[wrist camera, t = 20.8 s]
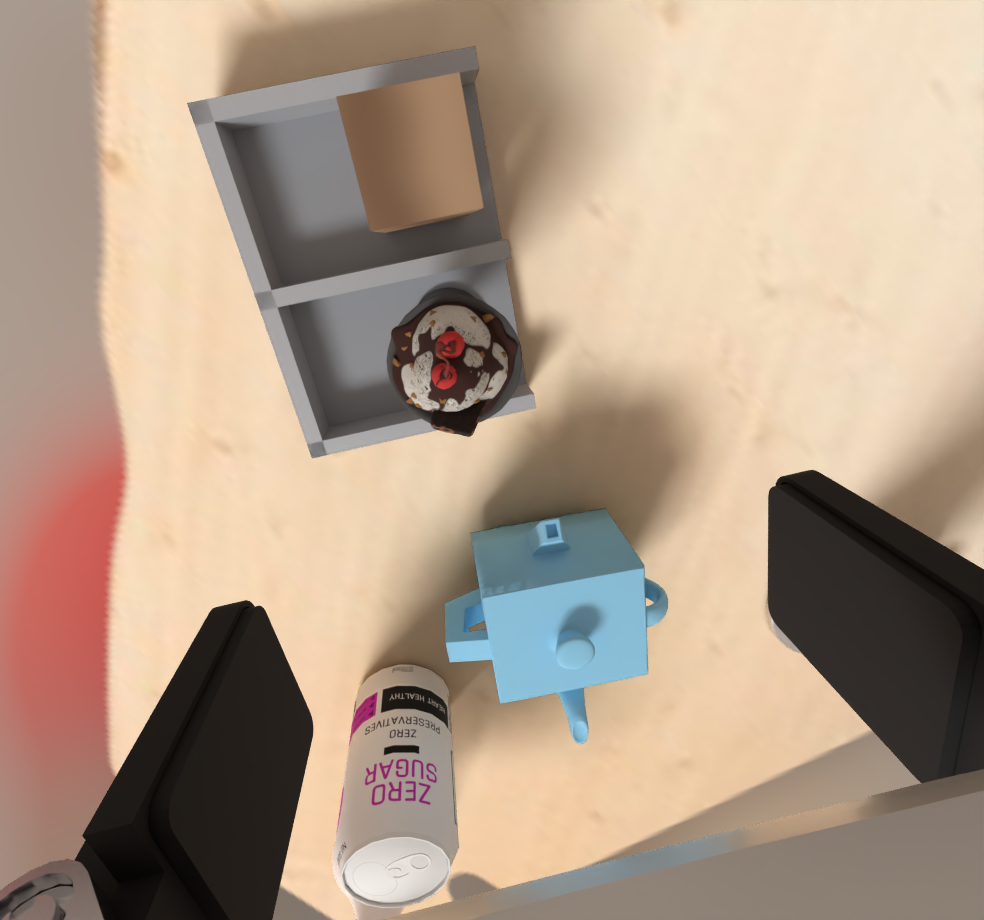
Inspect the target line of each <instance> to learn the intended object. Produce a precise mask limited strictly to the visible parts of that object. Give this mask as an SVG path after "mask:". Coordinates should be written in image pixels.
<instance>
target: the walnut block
mask: <svg viewBox="0 0 984 920" xmlns="http://www.w3.org/2000/svg"><path fill="white" fill-rule="evenodd" d="M336 99H337V103H338V107H339V111H340V114H341V118H342V122H343V126H344V130H345V134H346V138H347V142H348V146H349V149H350V153H351V157H352V161H353V165H354V169H355V173H356V177H357V181H358V184H359V188H360V192H361V196H362V200H363V204H364V208H365V212H366V215H367V219H368V223H369V227H370V231H374V232H382V233H388V232H393V231H398V230H403V229H408V228H412V227H417V226H422V225H427V224H432V223H436V222H441V221H446V220H451V219H456V218H461V217H465V216H467V215H469V214H472V213H474V212H476V211H478V210H480V209H482V208H484V207H483V201H482V195H481V190H480V184H479V179H478V173H477V167H476V162H475V156H474V151H473V145H472V140H471V134H470V128H469V123H468V117H467V112H466V106H465V100H464V95H463V89H462V84H461V78H460V73H459V72H458V73H453V74H448V75H443V76H438V77H433V78H428V79H422V80H417V81H412V82H407V83H402V84H397V85H392V86H387V87H382V88H377V89H372V90H367V91H362V92H357V93H352V94H346V95H341V96H336Z"/></svg>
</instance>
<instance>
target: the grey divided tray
mask: <svg viewBox="0 0 984 920" xmlns="http://www.w3.org/2000/svg"><path fill="white" fill-rule="evenodd" d="M478 70H479V66H478V60H477V54H476V48H475V46H473V47H468V48H463V49H458V50H452V51H447V52H442V53H437V54H432V55H427V56H422V57H417V58H412V59H407V60H402V61H397V62H392V63H387V64H382V65H377V66H372V67H367V68H362V69H357V70H352V71H347V72H342V73H337V74H332V75H327V76H322V77H316V78H311V79H306V80H301V81H296V82H291V83H286V84H281V85H276V86H271V87H266V88H261V89H256V90H251V91H246V92H241V93H236V94H231V95H226V96H221V97H216V98H211V99H206V100H201V101H196V102H191V103H187V104H188V107H189V110H190V113H191V115H192V118H193V121H194V124H195V127H196V130H197V132H198V135H199V138H200V141H201V144H202V147H203V150H204V152H205V155H206V158H207V161H208V164H209V167H210V169H211V172H212V175H213V178H214V181H215V184H216V186H217V189H218V192H219V195H220V198H221V201H222V204H223V206H224V209H225V212H226V215H227V218H228V221H229V223H230V226H231V229H232V232H233V235H234V238H235V241H236V243H237V246H238V249H239V252H240V255H241V258H242V260H243V263H244V266H245V269H246V272H247V275H248V277H249V280H250V283H251V286H252V289H253V292H254V295H255V297H256V300H257V303H258V306H259V309H260V312H261V314H262V317H263V320H264V323H265V326H266V329H267V331H268V334H269V337H270V340H271V343H272V346H273V349H274V351H275V354H276V357H277V360H278V363H279V366H280V368H281V371H282V374H283V377H284V380H285V383H286V385H287V388H288V391H289V394H290V397H291V400H292V403H293V405H294V408H295V411H296V414H297V417H298V420H299V422H300V425H301V428H302V431H303V434H304V437H305V439H306V442H307V445H308V448H309V451H310V454H311V457H312V458H316V457H320V456H325V455H329V454H334V453H338V452H342V451H347V450H351V449H356V448H360V447H365V446H369V445H374V444H378V443H383V442H387V441H392V440H396V439H401V438H405V437H410V436H414V435H418V434H423V433H427V432H432V431H436V429H433V428H432V427H431V424H430V423H428V422H426V421H424V420H423V419H421V418H419V417H417V416H416V415H415V414H413V413H412V412H410V411H409V410H408V409H407V408H406V406H405V405H404V404H403V403H402V402H401V401H400V399H399V398H398V396H397V395H396V393H395V392H394V389H393V387H392V385H391V382H390V379H389V375H388V371H387V361H386V360H387V352H388V348H389V344H390V340H391V332H392V329H393V328H395V327H396V326H398V325H399V323H400V322H401V321H402V319H403V318H404V317H405V315H406V314H408V313H409V312H410V311H411V310H412V309H413V308H414V307H416V306H417V305H418V304H419V303H420V302H421V300H422V299H423V298H424V297H425V296H427V295H428V294H429V293H431V292H433V291H435V290H438V289H442V288H449V287H451V288H457V289H461V290H464V291H466V292H468V293H469V294H471V295H472V296H473V297H475V298H476V299H479V300H481V301H483V302H485V303H487V304H488V305H490V306H491V307H493V308H494V309H496V310H497V311H498V312H499V313H501V314H502V315H503V316H504V317H505V318H506V319H507V321H508V322H509V323H510V325H511V326H512V327H513V329H514V331H515V333H516V334H517V336H518V332H517V326H516V321H515V315H514V309H513V303H512V298H511V292H510V286H509V280H508V274H507V269H506V263H505V259H507V258H511V255H510V249H509V243H508V240H501V234H500V228H499V222H498V217H497V211H496V205H495V199H494V194H493V188H492V182H491V176H490V171H489V165H488V159H487V153H486V147H485V142H484V136H483V130H482V124H481V119H480V113H479V107H478V101H477V95H476V90H475V84H474V82H475V79H476V76H477V73H478ZM458 72H459V73H460V78H461V84H462V89H463V95H464V100H465V106H466V112H467V117H468V123H469V128H470V134H471V140H472V145H473V151H474V156H475V162H476V167H477V173H478V179H479V184H480V190H481V195H482V201H483V207H484V208H482V209H480V210H478V211H476V212H474V213H472V214H469V215H467V216H465V217H461V218H456V219H451V220H446V221H441V222H436V223H432V224H427V225H422V226H417V227H412V228H408V229H403V230H398V231H393V232H388V233H382V232H374V231H370V227H369V223H368V219H367V215H366V212H365V208H364V204H363V200H362V196H361V192H360V188H359V184H358V181H357V177H356V173H355V169H354V165H353V161H352V157H351V153H350V149H349V146H348V142H347V138H346V134H345V130H344V126H343V122H342V118H341V114H340V111H339V107H338V103H337V99H336V96H341V95H346V94H352V93H357V92H362V91H367V90H372V89H377V88H382V87H387V86H392V85H397V84H402V83H407V82H412V81H417V80H422V79H428V78H433V77H438V76H443V75H448V74H453V73H458ZM518 339H519V338H518ZM535 408H536V403H535V397H534V393H533V392H532V390H531V389H530V388H529V386H528V385H527V384H526V378H525V373H524V367H523V361H522V369H521V374H520V378H519V382H518V385H517V388H516V390H515V392H514V394H513V395H512V397H511V398H510V400H509V401H508V402H507V404H506V405H505V406H504V407H503V408H502V409H501V410H500V411H499V412H497V413H496V414H494V415H493V416H491V417H490V418H494V417H499V416H503V415H508V414H512V413H517V412H521V411H526V410H530V409H535ZM490 418H488V419H490Z"/></svg>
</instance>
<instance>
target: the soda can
mask: <svg viewBox="0 0 984 920" xmlns="http://www.w3.org/2000/svg"><path fill="white" fill-rule="evenodd" d="M458 848H459V842H458V826H457V809H456V793H455V777H454V761H453V744H452V728H451V712H450V698H449V689H448V688H447V686H446V684H445V683H444V681H443V679H442V678H441V677H439V676H438V675H437V674H435V673H434V672H433V671H431V670H429V669H426V668H423V667H419V666H416V665H404V664H399V665H395V666H391V667H387V668H384V669H381V670H380V671H378V672H376V673H375V674H373V675H371V676H370V677H368V678H367V680H366V681H365V682H364V683H363V684H362V686H361V687H360V688H359V690H358V694H357V697H356V701H355V708H354V715H353V722H352V729H351V736H350V743H349V750H348V757H347V764H346V771H345V778H344V785H343V792H342V799H341V806H340V813H339V820H338V827H337V834H336V841H335V848H334V854H335V858H336V862H337V866H338V869H339V871H340V874H341V880H342V884H343V888H344V889H345V890H346V891H347V893H348V894H349V895H350V896H351V897H352V898H353V899H355V900H357V901H359V902H361V903H363V904H365V905H369V906H375V907H380V908H397V907H405V906H409V905H412V904H416V903H420V902H422V901H423V900H425V899H427V898H429V897H431V896H433V895H435V894H436V893H437V892H438V891H439V890H440V889H441V888H442V887H443V886H444V885H445V884H446V882H447V879H448V877H449V875H450V872H451V865H452V862H453V860H454V858H455V855H456V853H457V851H458Z"/></svg>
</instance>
